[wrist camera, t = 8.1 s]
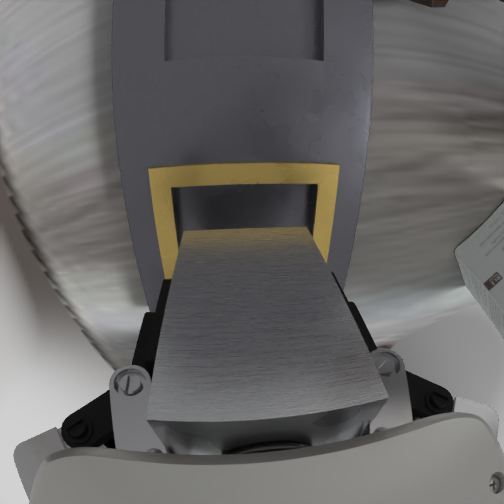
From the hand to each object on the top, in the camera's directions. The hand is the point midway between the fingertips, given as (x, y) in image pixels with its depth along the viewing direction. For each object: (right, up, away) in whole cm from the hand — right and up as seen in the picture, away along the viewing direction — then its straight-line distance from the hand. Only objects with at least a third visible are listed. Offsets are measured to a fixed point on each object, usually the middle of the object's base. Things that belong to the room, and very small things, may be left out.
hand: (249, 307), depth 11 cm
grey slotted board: (0, +9, +2) cm, 9 cm away
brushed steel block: (0, +1, +2) cm, 2 cm away
